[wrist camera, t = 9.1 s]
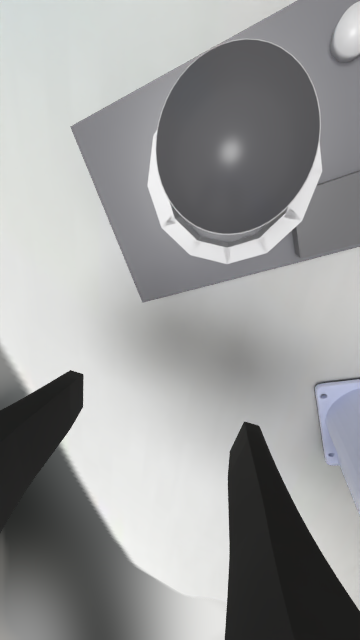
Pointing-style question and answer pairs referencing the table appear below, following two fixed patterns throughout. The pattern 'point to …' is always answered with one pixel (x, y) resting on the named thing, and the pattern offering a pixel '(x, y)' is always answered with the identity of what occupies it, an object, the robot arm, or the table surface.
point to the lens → (238, 136)
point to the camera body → (282, 232)
